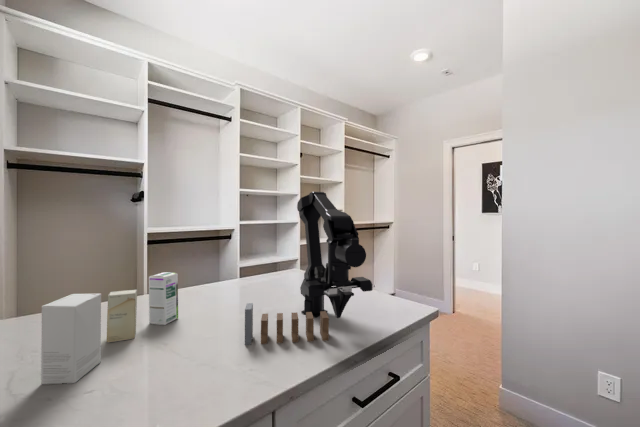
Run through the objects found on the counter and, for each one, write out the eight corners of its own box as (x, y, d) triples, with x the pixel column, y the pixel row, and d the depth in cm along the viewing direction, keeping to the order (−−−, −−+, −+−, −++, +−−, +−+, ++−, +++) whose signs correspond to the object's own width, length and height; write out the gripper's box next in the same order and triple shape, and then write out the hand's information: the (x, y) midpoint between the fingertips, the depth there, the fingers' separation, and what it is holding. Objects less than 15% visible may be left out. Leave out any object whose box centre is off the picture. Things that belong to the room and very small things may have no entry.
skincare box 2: (106, 343, 73) (106, 295, 73) (109, 336, 77) (109, 291, 77) (135, 338, 76) (135, 292, 76) (137, 332, 80) (137, 288, 80)
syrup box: (165, 325, 85) (165, 276, 85) (148, 323, 86) (148, 275, 86) (178, 318, 91) (178, 272, 91) (162, 317, 92) (162, 271, 92)
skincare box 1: (72, 363, 64) (72, 293, 64) (103, 362, 64) (104, 292, 64) (38, 386, 56) (38, 305, 55) (75, 384, 56) (75, 304, 56)
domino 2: (282, 334, 80) (282, 313, 80) (282, 342, 75) (283, 319, 75) (276, 335, 79) (276, 313, 79) (276, 343, 74) (276, 320, 74)
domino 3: (297, 334, 80) (297, 312, 80) (298, 342, 75) (298, 319, 75) (291, 334, 80) (291, 312, 80) (292, 342, 75) (292, 319, 75)
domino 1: (267, 335, 79) (268, 313, 79) (267, 343, 74) (267, 320, 74) (262, 335, 79) (262, 313, 79) (260, 344, 74) (261, 320, 74)
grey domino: (252, 336, 79) (252, 303, 78) (251, 344, 74) (251, 309, 74) (246, 336, 78) (246, 303, 78) (244, 344, 73) (244, 309, 73)
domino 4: (311, 333, 81) (311, 311, 81) (313, 341, 76) (313, 318, 76) (305, 333, 80) (305, 312, 80) (307, 341, 76) (307, 318, 75)
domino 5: (325, 332, 81) (325, 311, 81) (328, 340, 76) (328, 317, 76) (320, 332, 81) (320, 311, 81) (322, 340, 76) (322, 318, 76)
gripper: (354, 254, 90) (354, 304, 90) (297, 257, 83) (296, 311, 83) (373, 260, 79) (373, 317, 80) (309, 264, 73) (309, 326, 73)
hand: (337, 317), depth 79 cm, fingers closed
